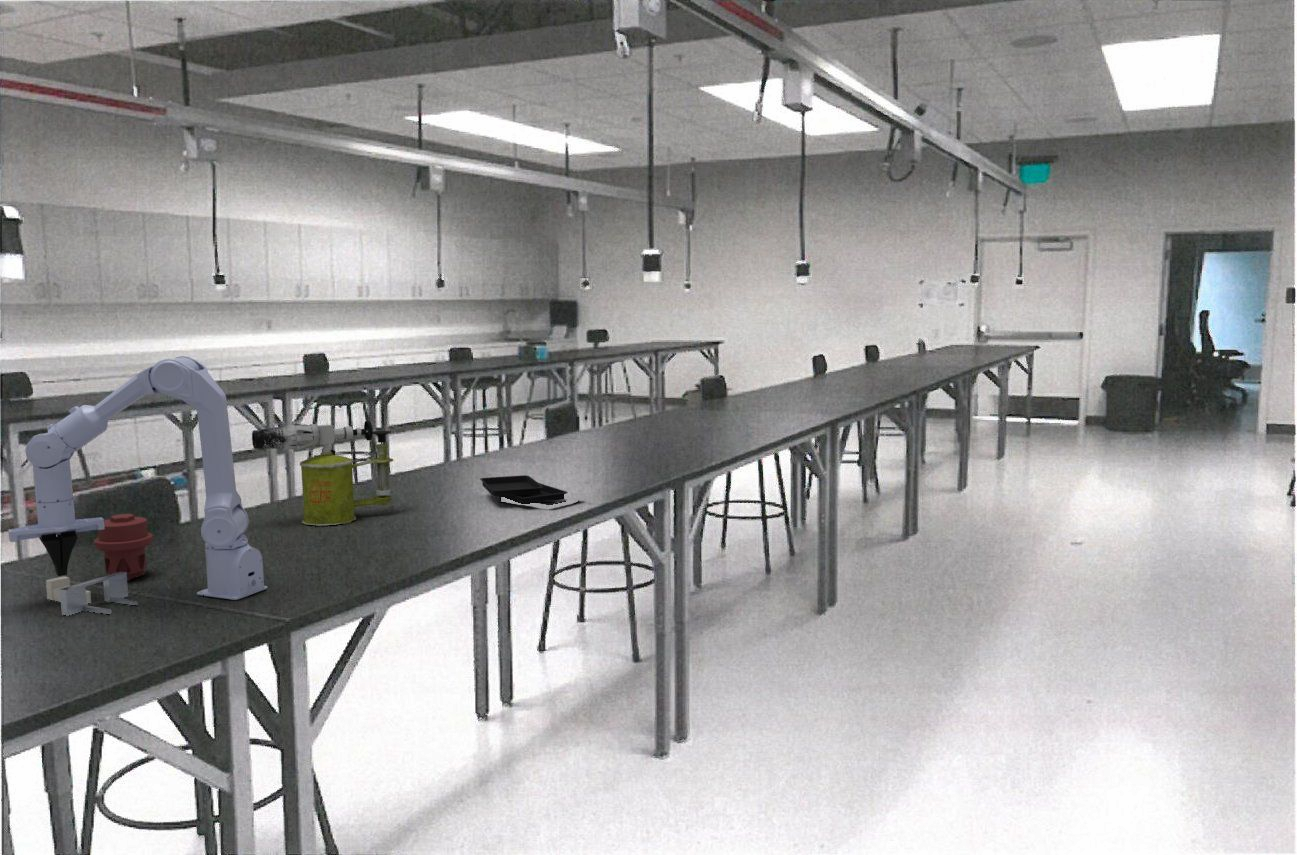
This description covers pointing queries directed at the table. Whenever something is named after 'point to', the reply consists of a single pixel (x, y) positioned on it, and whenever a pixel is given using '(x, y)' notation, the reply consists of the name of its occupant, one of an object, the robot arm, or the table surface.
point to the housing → (113, 592)
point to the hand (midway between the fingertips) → (61, 574)
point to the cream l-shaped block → (60, 583)
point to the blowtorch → (328, 469)
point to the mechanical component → (124, 544)
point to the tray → (522, 489)
